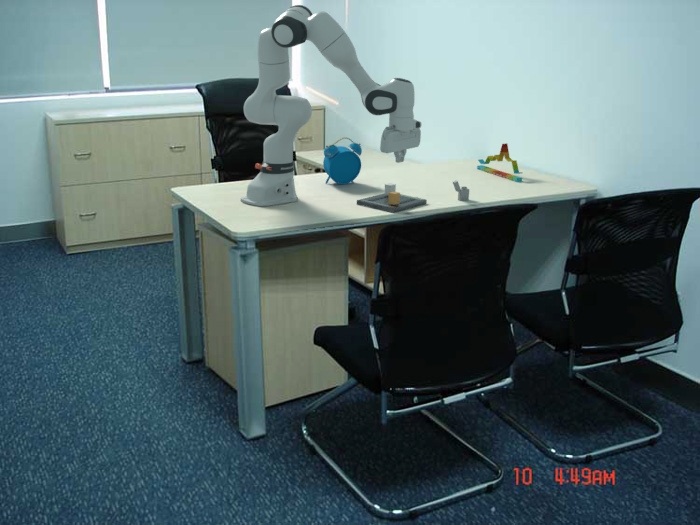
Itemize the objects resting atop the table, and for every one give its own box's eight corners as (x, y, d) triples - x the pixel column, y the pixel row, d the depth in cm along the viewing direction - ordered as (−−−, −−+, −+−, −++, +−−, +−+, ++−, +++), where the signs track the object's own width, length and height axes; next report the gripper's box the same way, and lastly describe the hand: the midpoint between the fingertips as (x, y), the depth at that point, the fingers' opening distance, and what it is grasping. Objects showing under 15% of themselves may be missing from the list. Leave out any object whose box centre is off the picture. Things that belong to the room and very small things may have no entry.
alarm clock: (353, 179, 327) (354, 133, 320) (364, 184, 318) (365, 137, 312) (317, 182, 320) (318, 135, 313) (327, 187, 311) (328, 139, 305)
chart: (476, 169, 355) (478, 137, 350) (482, 169, 356) (484, 137, 352) (515, 182, 329) (518, 148, 324) (521, 182, 330) (525, 148, 326)
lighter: (466, 199, 297) (467, 179, 295) (468, 199, 296) (470, 179, 293) (451, 200, 294) (452, 180, 292) (453, 201, 293) (455, 181, 290)
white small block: (390, 195, 291) (390, 185, 290) (384, 194, 293) (384, 184, 292) (395, 194, 293) (395, 184, 292) (389, 193, 295) (389, 183, 294)
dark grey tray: (393, 212, 274) (394, 208, 274) (356, 204, 286) (356, 200, 285) (426, 203, 289) (426, 199, 288) (389, 195, 300) (389, 191, 299)
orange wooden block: (394, 204, 278) (395, 194, 276) (388, 203, 280) (388, 192, 278) (399, 203, 280) (400, 192, 279) (393, 201, 282) (393, 191, 281)
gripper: (390, 128, 264) (389, 167, 268) (424, 122, 279) (422, 159, 283) (376, 126, 268) (375, 164, 272) (410, 120, 283) (408, 157, 287)
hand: (399, 162), depth 278 cm, fingers closed
